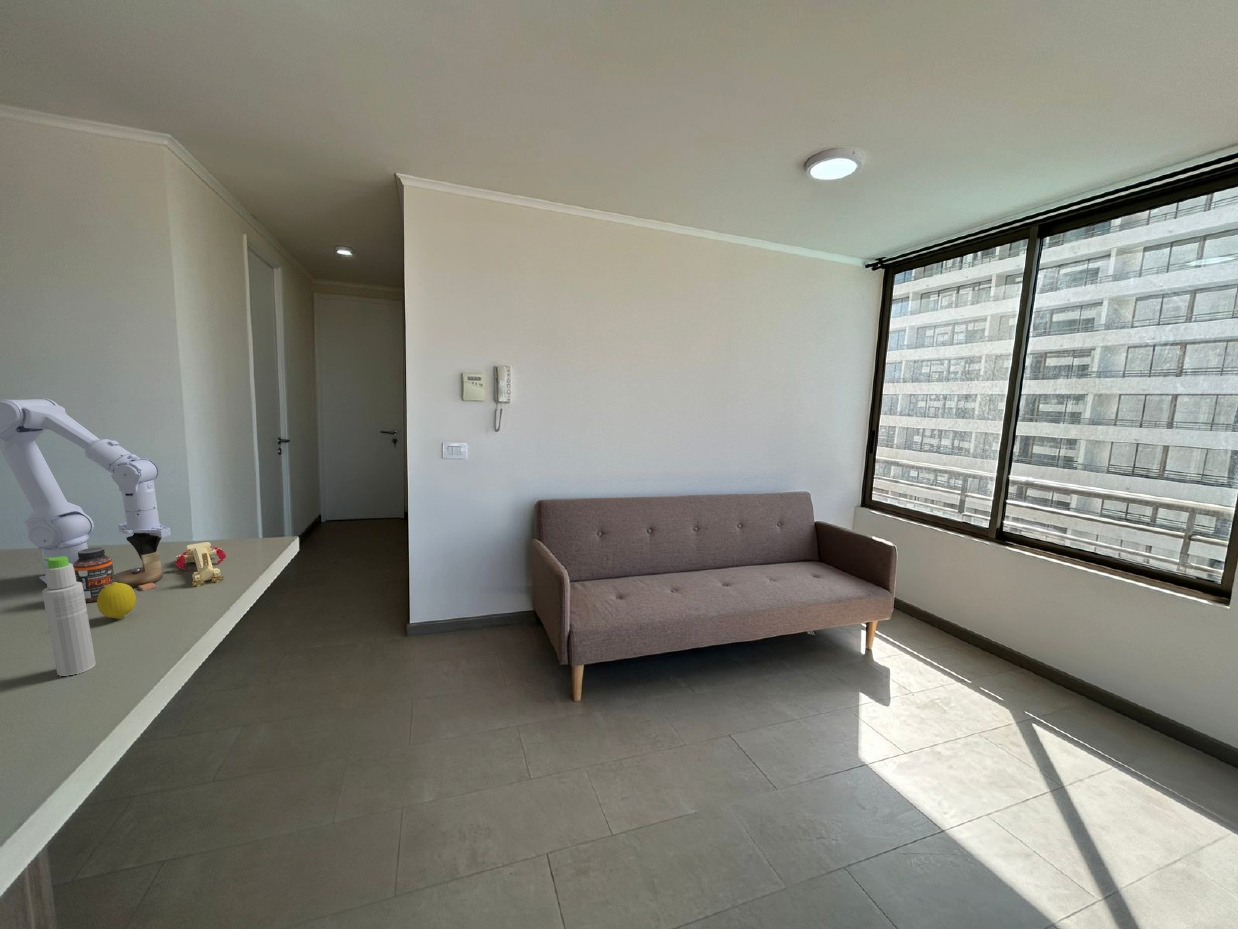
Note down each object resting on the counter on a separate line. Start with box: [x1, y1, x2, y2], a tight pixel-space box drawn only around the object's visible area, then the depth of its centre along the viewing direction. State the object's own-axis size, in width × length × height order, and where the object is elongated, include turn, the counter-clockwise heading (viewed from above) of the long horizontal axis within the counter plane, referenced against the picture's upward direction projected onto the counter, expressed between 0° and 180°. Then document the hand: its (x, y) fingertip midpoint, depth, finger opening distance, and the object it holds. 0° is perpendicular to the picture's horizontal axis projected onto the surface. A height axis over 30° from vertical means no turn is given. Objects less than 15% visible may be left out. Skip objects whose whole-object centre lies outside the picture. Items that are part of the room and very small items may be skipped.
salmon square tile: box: [138, 582, 157, 591], centre depth 114 cm, size 2×2×1 cm
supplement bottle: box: [73, 546, 115, 603], centre depth 107 cm, size 6×6×11 cm
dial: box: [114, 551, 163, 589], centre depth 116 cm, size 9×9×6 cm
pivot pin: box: [130, 567, 141, 573], centre depth 116 cm, size 2×2×1 cm
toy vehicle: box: [175, 541, 227, 587], centre depth 124 cm, size 10×9×25 cm
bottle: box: [41, 556, 97, 676], centre depth 80 cm, size 4×4×20 cm
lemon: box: [96, 582, 137, 620], centre depth 98 cm, size 6×6×8 cm
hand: (148, 561), depth 120 cm, fingers closed
